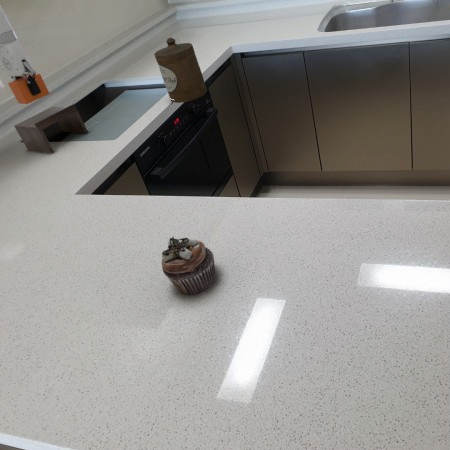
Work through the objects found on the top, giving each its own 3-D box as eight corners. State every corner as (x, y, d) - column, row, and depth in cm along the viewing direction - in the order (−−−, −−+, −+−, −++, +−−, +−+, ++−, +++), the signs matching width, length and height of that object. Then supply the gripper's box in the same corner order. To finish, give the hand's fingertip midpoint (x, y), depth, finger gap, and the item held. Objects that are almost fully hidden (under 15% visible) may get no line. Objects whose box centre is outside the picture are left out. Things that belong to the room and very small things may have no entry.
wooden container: (167, 96, 186) (146, 41, 173) (201, 85, 190) (184, 30, 177) (175, 106, 174) (154, 47, 162) (211, 94, 178) (194, 35, 166)
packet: (18, 103, 156) (7, 83, 152) (41, 93, 162) (31, 73, 158) (27, 104, 153) (16, 83, 149) (49, 93, 159) (40, 73, 155)
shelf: (28, 150, 165) (11, 121, 158) (64, 130, 176) (50, 102, 169) (51, 153, 158) (35, 123, 152) (88, 132, 169) (74, 103, 162)
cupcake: (219, 292, 85) (203, 251, 80) (168, 302, 86) (148, 262, 80) (221, 259, 93) (207, 220, 87) (175, 269, 93) (157, 230, 88)
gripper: (-22, 42, 147) (8, 97, 158) (7, 41, 139) (37, 99, 150) (-1, 35, 152) (27, 89, 163) (29, 34, 144) (56, 90, 155)
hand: (31, 93), depth 156 cm, fingers closed on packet, 5 cm apart
